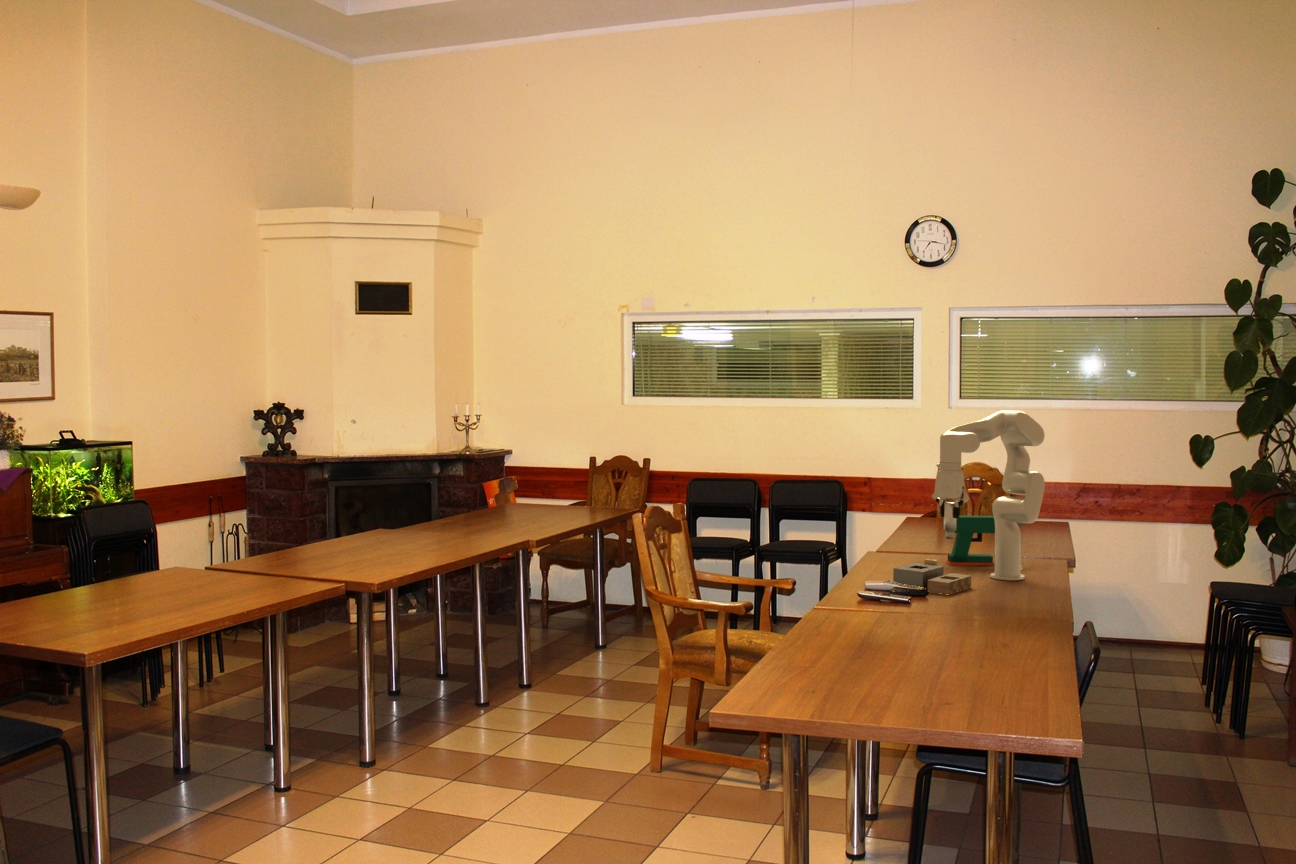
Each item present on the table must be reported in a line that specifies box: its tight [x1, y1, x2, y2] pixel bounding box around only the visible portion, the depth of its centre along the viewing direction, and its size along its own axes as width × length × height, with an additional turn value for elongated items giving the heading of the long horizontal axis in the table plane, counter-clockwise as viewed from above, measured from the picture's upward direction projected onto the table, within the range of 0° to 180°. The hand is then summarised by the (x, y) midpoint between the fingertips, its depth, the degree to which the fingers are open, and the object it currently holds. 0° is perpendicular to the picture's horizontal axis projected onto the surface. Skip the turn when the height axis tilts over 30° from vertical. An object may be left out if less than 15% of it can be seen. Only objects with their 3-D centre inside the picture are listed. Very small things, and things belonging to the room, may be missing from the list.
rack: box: [927, 573, 972, 595], centre depth 387 cm, size 18×8×4 cm, turn 138°
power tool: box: [945, 514, 1027, 566], centre depth 442 cm, size 32×7×20 cm, turn 84°
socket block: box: [892, 562, 945, 589], centre depth 396 cm, size 16×12×7 cm
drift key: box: [923, 558, 939, 566], centre depth 401 cm, size 8×5×7 cm, turn 138°
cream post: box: [943, 501, 956, 540], centre depth 386 cm, size 4×4×13 cm
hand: (950, 516), depth 386 cm, fingers closed on cream post, 4 cm apart
